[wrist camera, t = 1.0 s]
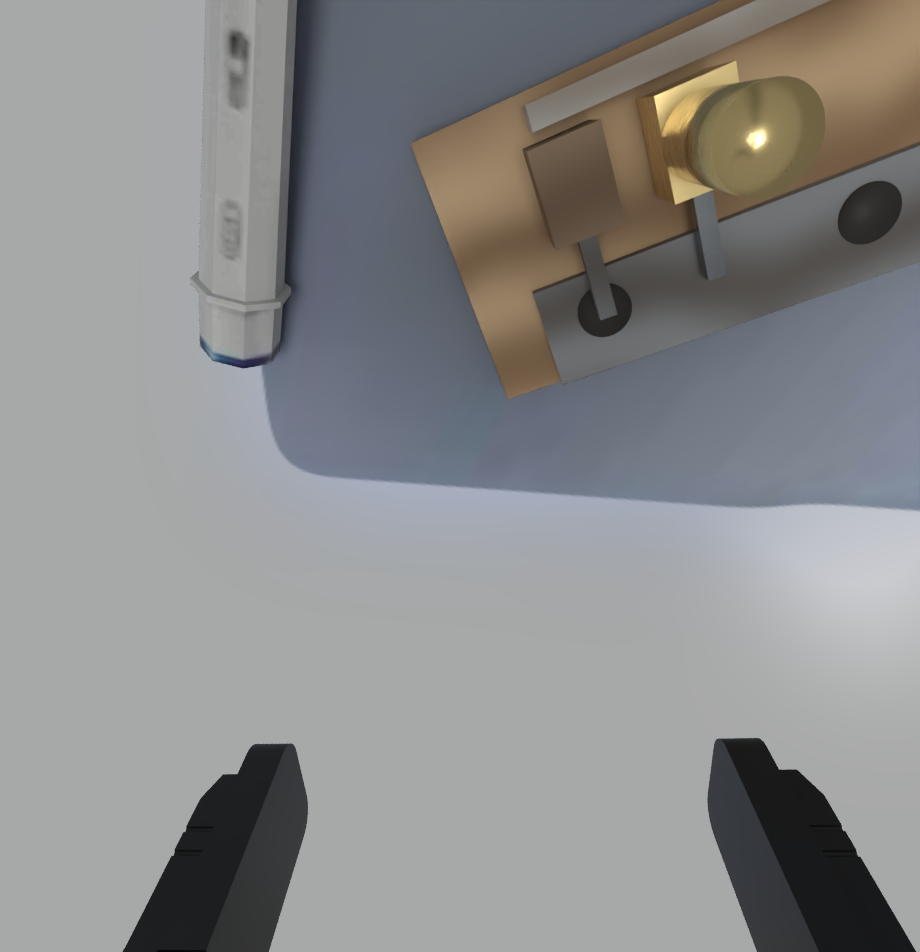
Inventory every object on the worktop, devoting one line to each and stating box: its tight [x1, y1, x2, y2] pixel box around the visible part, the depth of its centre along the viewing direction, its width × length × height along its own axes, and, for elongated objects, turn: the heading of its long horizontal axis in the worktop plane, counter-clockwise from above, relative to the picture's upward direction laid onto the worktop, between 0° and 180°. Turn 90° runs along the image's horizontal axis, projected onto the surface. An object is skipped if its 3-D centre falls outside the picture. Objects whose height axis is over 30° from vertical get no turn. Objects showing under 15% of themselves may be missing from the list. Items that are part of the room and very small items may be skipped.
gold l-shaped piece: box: [636, 61, 825, 281], centre depth 23 cm, size 8×3×9 cm, turn 22°
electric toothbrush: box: [190, 0, 297, 368], centre depth 25 cm, size 5×7×25 cm
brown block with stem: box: [522, 119, 625, 320], centre depth 26 cm, size 8×3×3 cm, turn 22°
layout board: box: [411, 0, 920, 399], centre depth 26 cm, size 13×28×4 cm, turn 112°
